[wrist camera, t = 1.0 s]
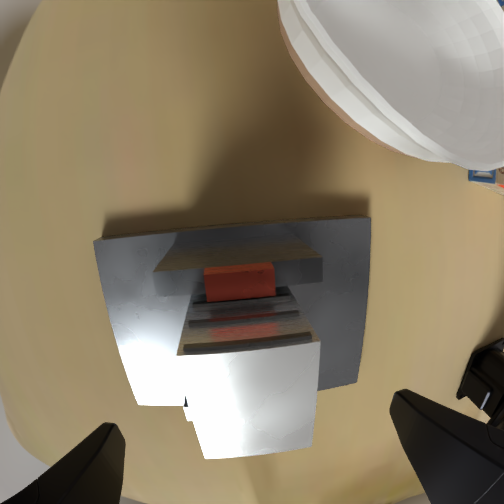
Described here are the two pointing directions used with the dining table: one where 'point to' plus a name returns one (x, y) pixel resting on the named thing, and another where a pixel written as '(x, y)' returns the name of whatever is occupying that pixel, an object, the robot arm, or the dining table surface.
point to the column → (250, 374)
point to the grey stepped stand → (234, 290)
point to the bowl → (407, 72)
